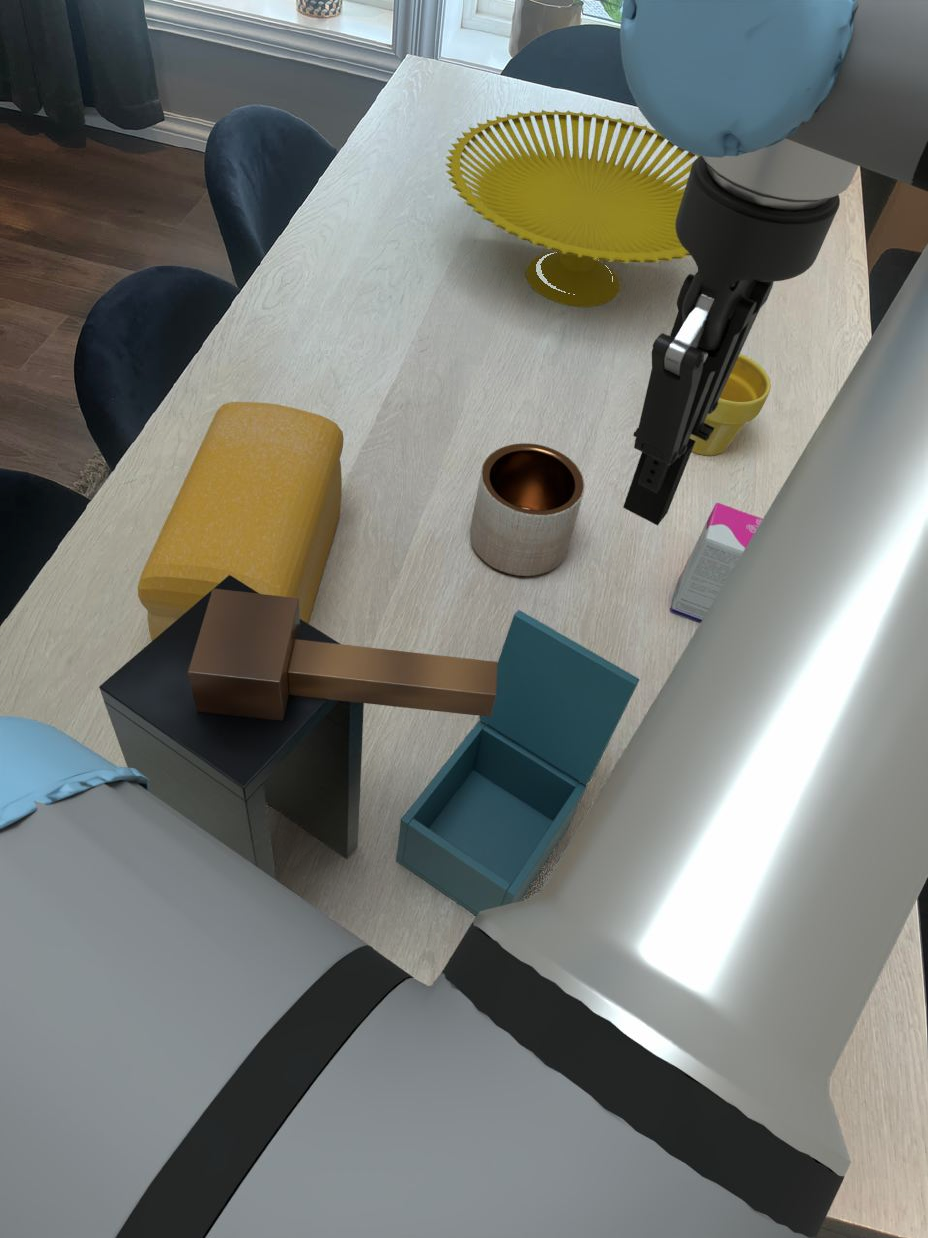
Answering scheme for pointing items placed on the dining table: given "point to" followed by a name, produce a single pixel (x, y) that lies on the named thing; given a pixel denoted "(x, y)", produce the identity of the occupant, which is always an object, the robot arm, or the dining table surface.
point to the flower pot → (735, 406)
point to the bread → (249, 512)
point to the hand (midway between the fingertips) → (645, 509)
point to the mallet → (317, 666)
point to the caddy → (488, 821)
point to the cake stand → (575, 201)
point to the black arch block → (237, 749)
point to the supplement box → (712, 560)
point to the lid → (558, 697)
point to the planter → (526, 508)
